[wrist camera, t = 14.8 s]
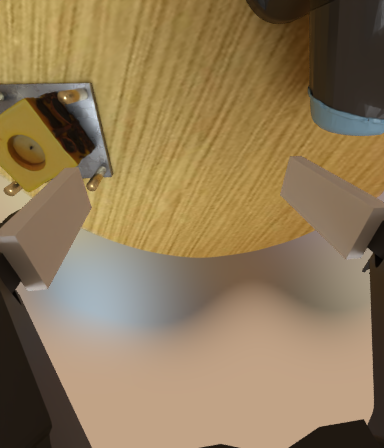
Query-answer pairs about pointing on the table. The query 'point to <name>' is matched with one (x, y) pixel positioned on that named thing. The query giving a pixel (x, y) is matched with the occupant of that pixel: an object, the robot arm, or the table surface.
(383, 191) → the table surface
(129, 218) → the table surface
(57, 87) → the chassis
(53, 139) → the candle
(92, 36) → the table surface
